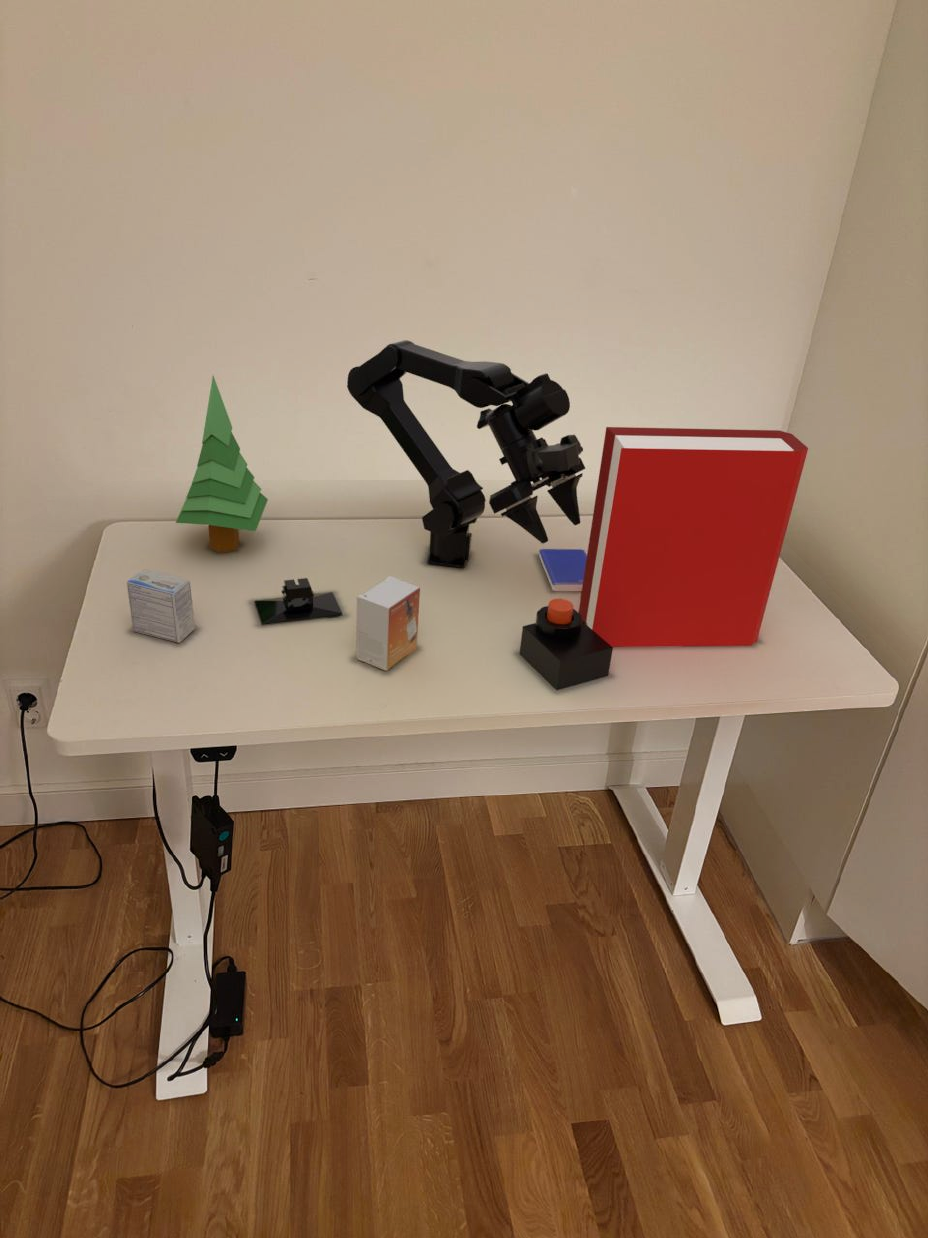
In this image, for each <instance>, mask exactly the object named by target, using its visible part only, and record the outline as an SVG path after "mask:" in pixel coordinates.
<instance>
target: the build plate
mask: <svg viewBox="0 0 928 1238" xmlns="http://www.w3.org/2000/svg"><path fill="white" fill-rule="evenodd" d="M283 584H284V585H282V589H281V594H282V597H275V598H265V599H257V600H254V601H253V602H254V606H255V610H256V612H257V615H258V618H259V621H260V624H261V626H269V625H276V624H277V625H278V624H284V623H294V622H302V621H310V620H318V619H334V618H339V617H342V616H343V612H342V610H341V607H340V606H339V603H338V601H337V599H336V596H335V595H334V592H332V591H326V592H319V593H314V591H313V589H312V586H311V584H310V581H309V579H308V577H304V578H297V583H296V580H295V579H285V580H283Z"/></svg>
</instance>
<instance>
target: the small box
mask: <svg viewBox="0 0 928 1238" xmlns="http://www.w3.org/2000/svg"><path fill="white" fill-rule="evenodd" d="M420 596H421V587H419V586H417V585H415V584H412V583H410V582H408V581H405V580H402V579H400V578H397V577H394V576H391V575H388V576H387V577H386V578H385V579H383V580H381V581H380V582H379V583H377V584H376V585H374V586H373V587H371V588H369V589H367V590H366V591H365V592H363V593H361V594H359V595H357V596H356V627H355V628H356V629H355V630H356V633H355V635H356V640H355V641H356V644H355V648H356V649H355V659H356V660H358V661H361V662H363V663H366V664H367V665H368V664H369V665H370V666H373V667H375V668H378V669H379V670H380V669H381V670H383V671H385V672H388V671H389V670H390V669H392V667H394V666H395V665H396V664H398V663H399V662H400V661H402V660H403V659H404V658H406V657H407V656H408V655H410V654H411V653H412V652H414V651H416V649H418V631H419V613H420Z"/></svg>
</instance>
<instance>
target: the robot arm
mask: <svg viewBox="0 0 928 1238" xmlns="http://www.w3.org/2000/svg"><path fill="white" fill-rule="evenodd" d="M407 373H408V374H411V375H413V376H416V377H419V378H422V379H425V380H428V381H431V382H433V383H435V384H438V385H442V386H445V387H447V388H450V389H452V390H453V391H454V392H455V393H456V395H458V397H459V398H460V399H462V400H463V401H464V402H466V403H468V404H470V405H472V406H473V407H475V408H478V409H484V408H486V409H484V410H480V412H479V419H478V421H477V424H476V428H477V429H478V430H481V429H483V428H486V427H489V429H490V431H491V433H492V435H493V437H494V439H495V441H496V443H497V445H498V447H499V449H500V451H501V454H502V455H503V456H502V457H500V458H499V459H498V461H499V462H500V464H501V466H503V465H505V464H507V466H508V468H509V470H510V472H511V473H512V476H513V478H514V480H513V481H512V482H510V484H509V485H507V486H506V487H504V488H502V489H500V490H497V491H496V492H494V493H492V494H491V495H489V501H488V504H489V506H490V508H491V511H492V512H493V514H494V515H495V514H498V513H499V512H501V511H503V512H501V513H500V516H501V517H504V516H505V517H506V518H508V519H509V520H510V521H512V522H514V523H515V524H516V525H518V526H519V527H521V528H522V529H523V530H525V531H526V532H527V533H528V534H530V535H531V536H532V537H534V538H535V539H536V540H537V541H538V542H539V543H541V544H545V543H548V542H549V537H548V535H547V531H546V529H545V527H544V524H543V522H542V520H541V517H540V515H539V512H538V510H537V503H538V495H535V496H534V497H532V495H533V494H534V492H535V491H537V490H539V489H541V488H543V487H545V486H547V487H548V488H549V489H548V490H547V493H548V494H549V496H550V497H551V498H552V499H553V501H554V502H555V504H556V505H557V506H558V507H559V508H560V510H561V512H563V514H564V515H565V516H566V518H567V519H568V520H569V521H570V522H571V523H572V524H573V526H577V525H580V523H581V517H580V516H581V515H580V509H579V502H578V485H579V482H580V481H581V478H582V477H583V475H584V474H583V472H582V471H584V470H587V469H586V467H585V464H584V461H583V460H582V457H580V456H579V455H581V454H582V452H583V451H584V448H583V446H582V444H581V442H580V441H579V439H578V437H577V435H576V434H567V435H565V436H562V437H561V438H560V441H559V443H556V444H551V445H549V444H548V442H547V440H546V439H545V438H544V437H539V438H537V436H536V434H535V433H534V432H535V431H540V430H541V429H543V428H545V427H547V426H548V425H551V424H552V423H554V422H556V421H557V420H559V419H560V418H563V417H564V416H566V415H567V414H568V413H569V411H570V409H571V408H570V407H571V402H570V397H569V394H568V393H567V390H566V389H564V388H563V387H562V385H560V383H558V382H556V381H555V380H553V379H551V378H550V375H549V374H548V373H546V372H545V373H542V374H540V375H538V376H536V377H535V378H533V379H532V380H531V382H528V381H526V380H525V379H523V378H521V377H519V376H518V375H516V374H515V373H513V372H512V368H510V366H509V365H507V364H505V363H502V362H494V361H470V360H469V361H467V360H464V359H461V358H457V357H455V356H451V355H448V354H445V353H442V352H439V351H436V350H433V349H431V348H427V347H424V346H421V345H418V344H415V343H414V342H412V340H408V339H403V340H399V341H396V342H392V343H389V344H386V346H385V347H384V348H383V349H381V351H380V352H378V353H377V354H376V355H374V356H373V357H371V358H370V359H367V360H366V361H365V362H363V363H361V365H357V366H355V367H352V368H351V369H350V370H349V372H348V375H347V382H346V383H347V384H346V387H347V391H348V392H349V394H350V396H351V397H352V398H353V399H354V400H355V402H357V403H358V405H359V406H360V407H362V409H364V410H365V411H367V412H369V413H370V414H373V415H375V416H377V417H378V418H380V419H381V421H382V422H383V424H384V425H385V426H386V428H387V429H388V431H389V432H390V434H391V435H392V436H393V438H394V439H395V441H396V442H397V444H398V445H399V446H400V448H401V449H402V451H403V452H404V453H405V455H406V457H407V458H408V459H409V460H410V462H411V463H412V465H413V467H415V470H417V472H418V473H419V475H420V476H421V478H422V480H424V482H425V484H426V485H427V488H428V499H429V505H430V506H431V507H432V509H431V510H429V511H428V512H427V513H425V514H424V515H423V516H422V517H421V520H422V525H423V529H424V530H426V531H428V532H429V533H430V535H429V551H428V552H429V553H428V556H427V559H426V563H427V564H428V565H437V566H444V567H450V568H451V567H453V568H460V569H463V568H465V566H466V563H467V561H469V559H470V558H471V557H470V556H471V551H472V541H473V533H471V532H470V525H472V524H475V523H476V522H477V521H478V518H479V517H480V516H482V515H483V514H484V512H485V509H486V502H487V499H486V496H485V494H484V492H483V491H482V490H483V489H484V487H483V486H481V485H480V484H479V483H478V482H477V480H476V479H475V477H474V475H473V473H472V472H471V471H470V470H469V469H466V470H464V471H462V472H460V471H457V470H456V469H454V468H453V467H452V466H451V465H450V463H449V462H448V460H447V459H446V458H445V455H443V453H442V452H441V450H440V449H439V448H438V446H437V445H436V443H435V442H434V441H433V439H432V438H431V436H430V435H429V434H428V432H427V431H426V430H425V428H424V426H423V425H422V424H421V422H420V421H419V420H418V418H417V417H416V415H415V414H414V413H413V411H412V410H411V408H410V407H409V406H408V404H407V403H406V401H405V395H404V385H403V382H402V381H401V378H403V376H405V375H406V374H407ZM510 402H511V404H512V405H511V404H508V403H510ZM490 406H494V407H496V408H494V409H491V408H487V407H490ZM580 472H581V473H580ZM578 473H579V474H578ZM576 474H577V475H576ZM504 510H505V511H504Z"/></svg>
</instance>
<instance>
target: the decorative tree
mask: <svg viewBox="0 0 928 1238" xmlns="http://www.w3.org/2000/svg"><path fill="white" fill-rule="evenodd" d="M210 385H211V386H210V391H209V396H208V403H207V410H206V415H205V416H206V417H205V422H204V427H203V428H204V429H203V435H202V441H201V444H202V445H201V450H200V453H199V457H198V461H197V465H196V470H195V473H194V476H193V478H192V482H191V484H190V487H189V490H188V492H187V495H186V497H185V500H184V503H183V505H182V507H181V509H180V511H179V514H178V516H177V518H176V521H175V524H190V525H208V538H209V549H211V550H213V551H216V552H218V553H219V554H223V553H230V552H235V551H236V550H237V549H238V547H239V545H240V537H239V535H240V534H239V533H240V532H239V530H243V531H250V532H256V531H257V529H258V527H259V524H260V522H261V519H262V516H263V513H264V510H265V508H266V506H267V503H268V501H269V499H268V498H267V497H266V496H265V495H264V494H263V493H262V492H261V491H262V488H261V487H260V485H258V484H257V483H256V482H255V476H254V475H253V473H252V472H251V471H250V470H249V468H248V463H247V461H246V460H245V458H244V457H243V455H242V454H241V447H240V445H239V444H238V442H237V440H236V438H235V435H234V434H233V432H232V430H233V425H232V423H231V420H230V417H229V415H228V412H227V409H226V406H225V403H224V401H223V398H222V395H221V392H220V389H219V387H218V384H217V382H216V379H215V376H214V375H212V378H211V384H210Z"/></svg>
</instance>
